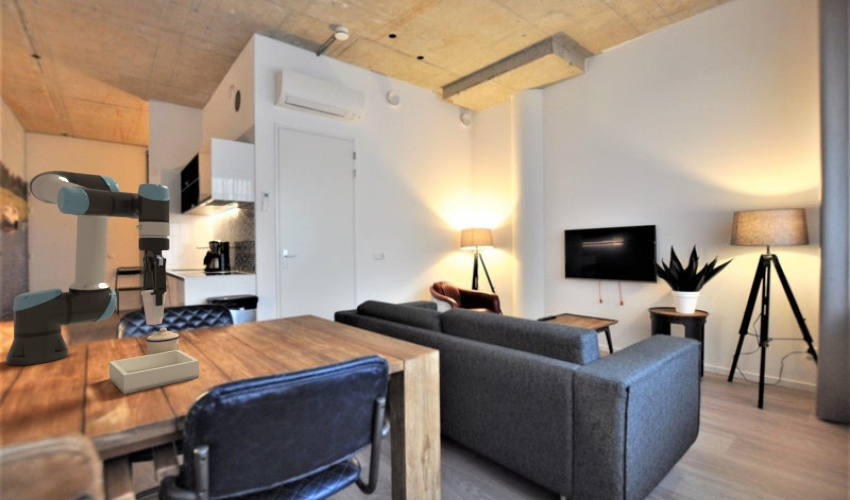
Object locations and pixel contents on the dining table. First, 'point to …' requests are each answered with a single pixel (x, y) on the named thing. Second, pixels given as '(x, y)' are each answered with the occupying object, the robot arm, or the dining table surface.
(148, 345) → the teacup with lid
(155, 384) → the bin
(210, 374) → the dining table surface
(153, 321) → the smoothie
